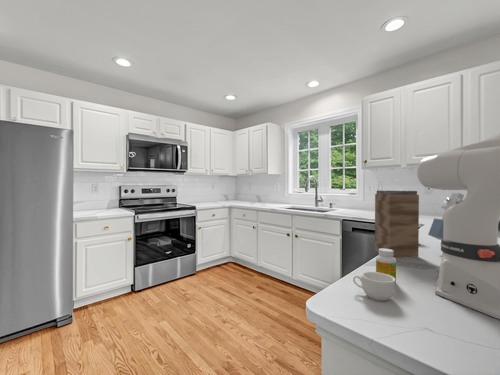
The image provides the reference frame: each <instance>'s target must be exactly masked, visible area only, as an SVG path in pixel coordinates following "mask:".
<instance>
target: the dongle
mask: <svg viewBox="0 0 500 375" xmlns="http://www.w3.org/2000/svg"><path fill="white" fill-rule="evenodd" d="M449 198H450V199H449V202H448V205H447V207H446V210H447V209H448V208H449V207H451V206H453V205H455V204H458V203H457V202H456V199H462V200H464V194H462V193H460V192H452V193H451V194H450V197H449ZM446 210H445V209H444V212H445V211H446ZM428 236H430V237H432V238H435V239H437V240H440V241H441V239H442V238H443V217H442V218H441V219H440V218H434V219H433V221H432V223H431V226H430V229H429V231H428Z"/></svg>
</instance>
